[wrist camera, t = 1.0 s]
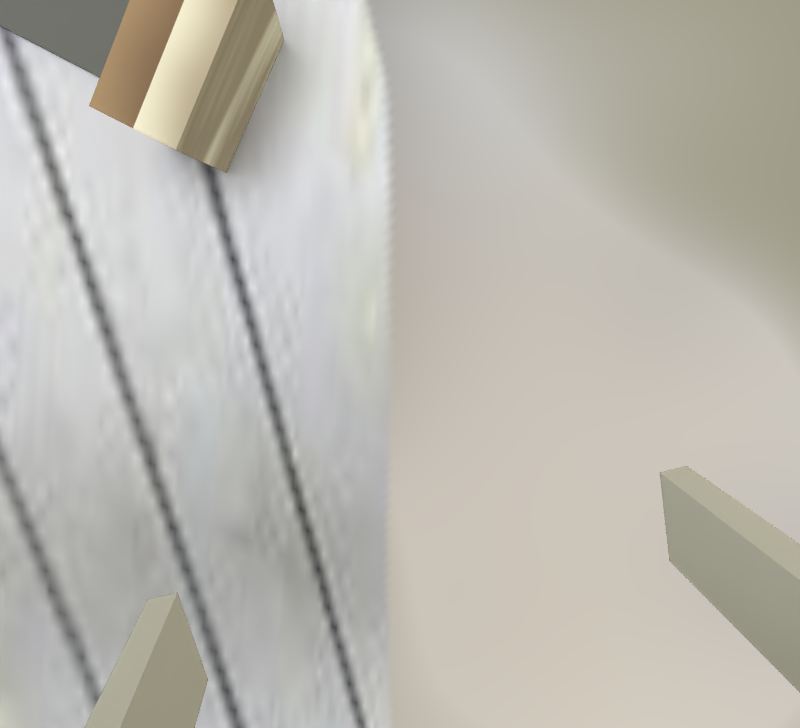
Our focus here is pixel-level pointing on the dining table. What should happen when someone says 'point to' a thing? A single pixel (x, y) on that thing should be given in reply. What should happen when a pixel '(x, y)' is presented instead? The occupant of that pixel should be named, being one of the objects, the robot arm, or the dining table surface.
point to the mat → (67, 27)
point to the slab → (190, 72)
